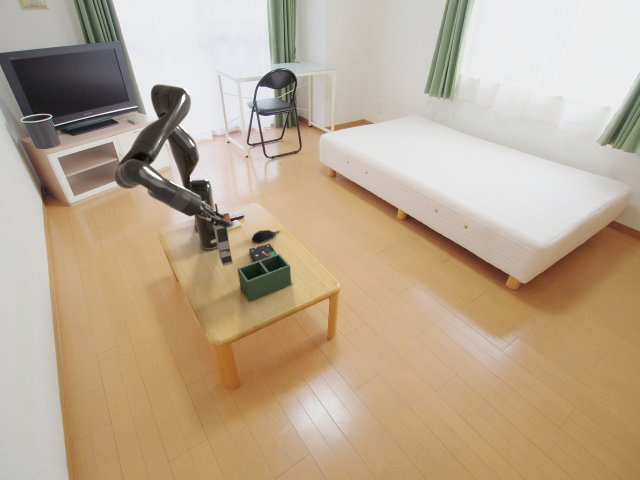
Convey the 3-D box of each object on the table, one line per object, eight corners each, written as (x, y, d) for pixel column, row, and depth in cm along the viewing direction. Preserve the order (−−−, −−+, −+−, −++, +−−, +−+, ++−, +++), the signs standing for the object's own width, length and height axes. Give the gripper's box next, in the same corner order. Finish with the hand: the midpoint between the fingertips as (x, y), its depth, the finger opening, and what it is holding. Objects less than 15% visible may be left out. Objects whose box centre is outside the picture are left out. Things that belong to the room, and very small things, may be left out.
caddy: (240, 286, 138) (237, 268, 132) (280, 271, 146) (279, 253, 140) (249, 301, 131) (246, 282, 126) (291, 284, 139) (290, 265, 134)
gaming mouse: (282, 234, 169) (281, 228, 167) (256, 245, 161) (255, 238, 159) (275, 229, 173) (274, 222, 171) (249, 239, 165) (248, 232, 163)
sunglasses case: (197, 232, 169) (194, 219, 168) (197, 232, 175) (193, 219, 175) (233, 224, 175) (230, 212, 174) (231, 224, 182) (228, 212, 181)
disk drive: (249, 253, 156) (259, 272, 145) (248, 248, 155) (258, 267, 144) (270, 247, 160) (281, 265, 149) (269, 243, 159) (281, 260, 148)
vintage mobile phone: (223, 266, 127) (212, 208, 113) (220, 259, 130) (208, 202, 116) (232, 264, 128) (223, 206, 114) (229, 256, 132) (219, 200, 118)
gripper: (195, 200, 102) (238, 222, 115) (183, 182, 112) (224, 204, 125) (181, 219, 103) (225, 240, 116) (171, 200, 113) (212, 220, 125)
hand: (224, 221), depth 120 cm, fingers closed on vintage mobile phone, 4 cm apart
